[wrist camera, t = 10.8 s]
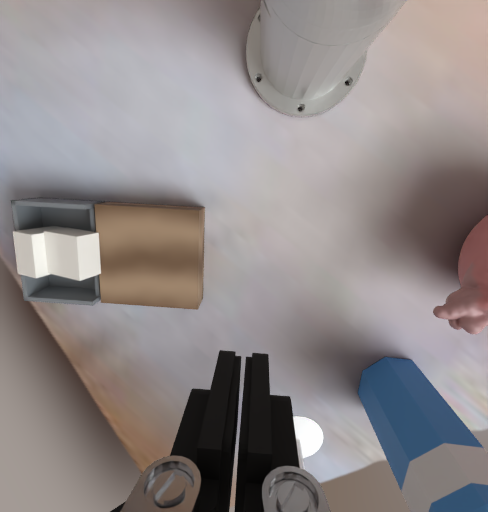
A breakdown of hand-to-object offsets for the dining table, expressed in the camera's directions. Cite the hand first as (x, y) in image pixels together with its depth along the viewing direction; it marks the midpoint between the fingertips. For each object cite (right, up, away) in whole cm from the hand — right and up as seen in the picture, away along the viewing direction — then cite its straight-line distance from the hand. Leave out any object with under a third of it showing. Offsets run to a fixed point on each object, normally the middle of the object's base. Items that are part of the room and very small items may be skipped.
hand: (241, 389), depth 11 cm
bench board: (-11, +5, +29) cm, 32 cm away
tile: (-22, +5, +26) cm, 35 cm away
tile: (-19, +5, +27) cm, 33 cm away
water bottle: (+20, -13, +33) cm, 41 cm away
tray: (-22, +6, +30) cm, 37 cm away
